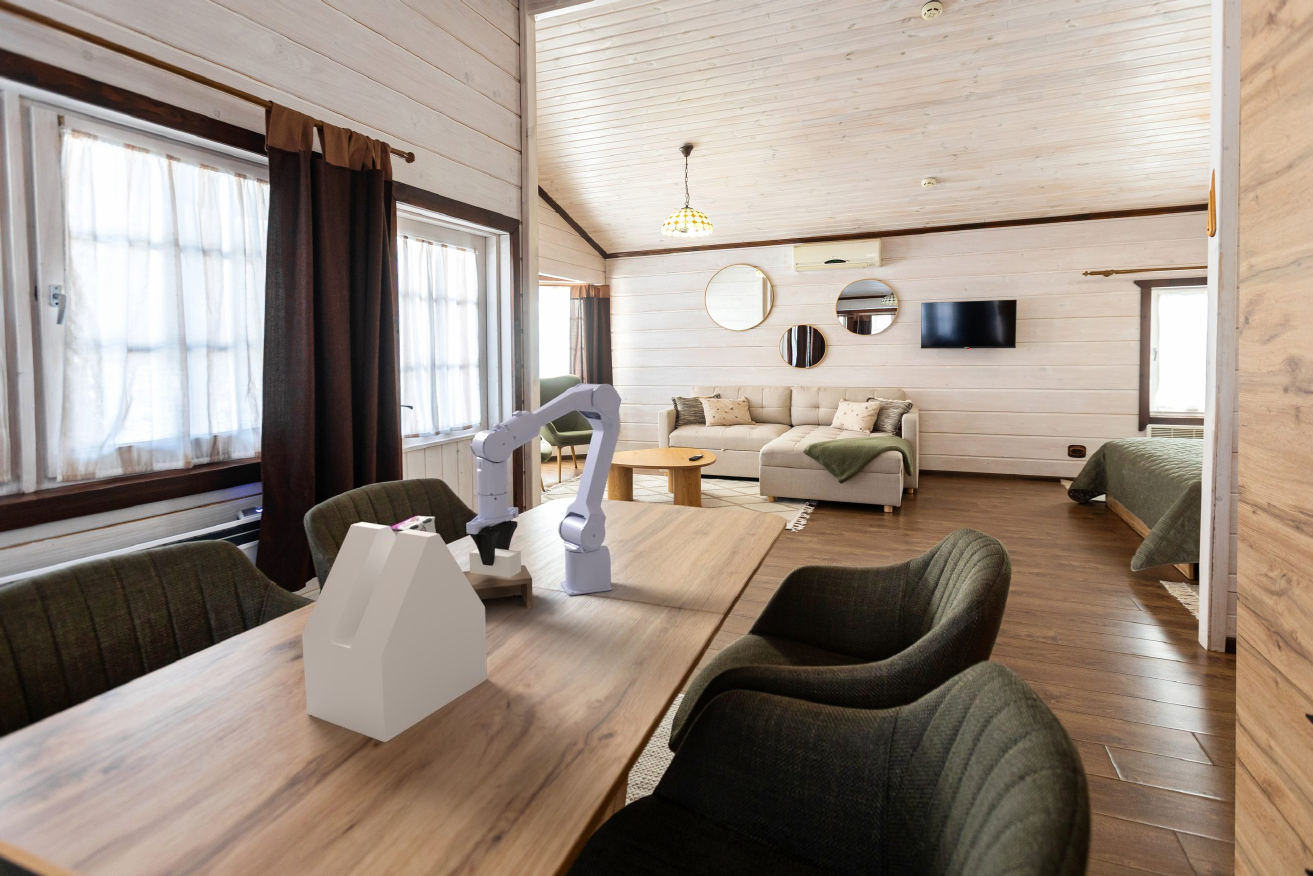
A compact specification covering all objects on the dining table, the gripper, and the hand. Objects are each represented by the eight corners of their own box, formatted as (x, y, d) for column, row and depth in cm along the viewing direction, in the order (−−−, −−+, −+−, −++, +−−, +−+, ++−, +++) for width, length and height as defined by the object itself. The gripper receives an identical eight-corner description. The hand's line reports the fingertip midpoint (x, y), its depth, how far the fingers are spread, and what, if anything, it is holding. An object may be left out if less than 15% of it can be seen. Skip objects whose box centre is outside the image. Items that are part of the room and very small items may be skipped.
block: (482, 566, 133) (481, 547, 132) (521, 571, 130) (520, 551, 129) (470, 572, 129) (469, 552, 129) (509, 577, 126) (509, 557, 126)
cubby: (525, 592, 140) (524, 565, 140) (532, 607, 132) (532, 577, 131) (456, 601, 135) (455, 572, 135) (459, 616, 127) (458, 586, 126)
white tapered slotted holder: (414, 659, 109) (407, 510, 106) (487, 679, 102) (482, 520, 99) (307, 714, 92) (295, 538, 89) (385, 743, 85) (375, 553, 82)
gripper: (488, 501, 120) (490, 574, 121) (530, 487, 133) (532, 553, 135) (455, 498, 122) (458, 570, 124) (500, 485, 135) (502, 550, 137)
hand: (495, 561), depth 129 cm, fingers closed on block, 4 cm apart
